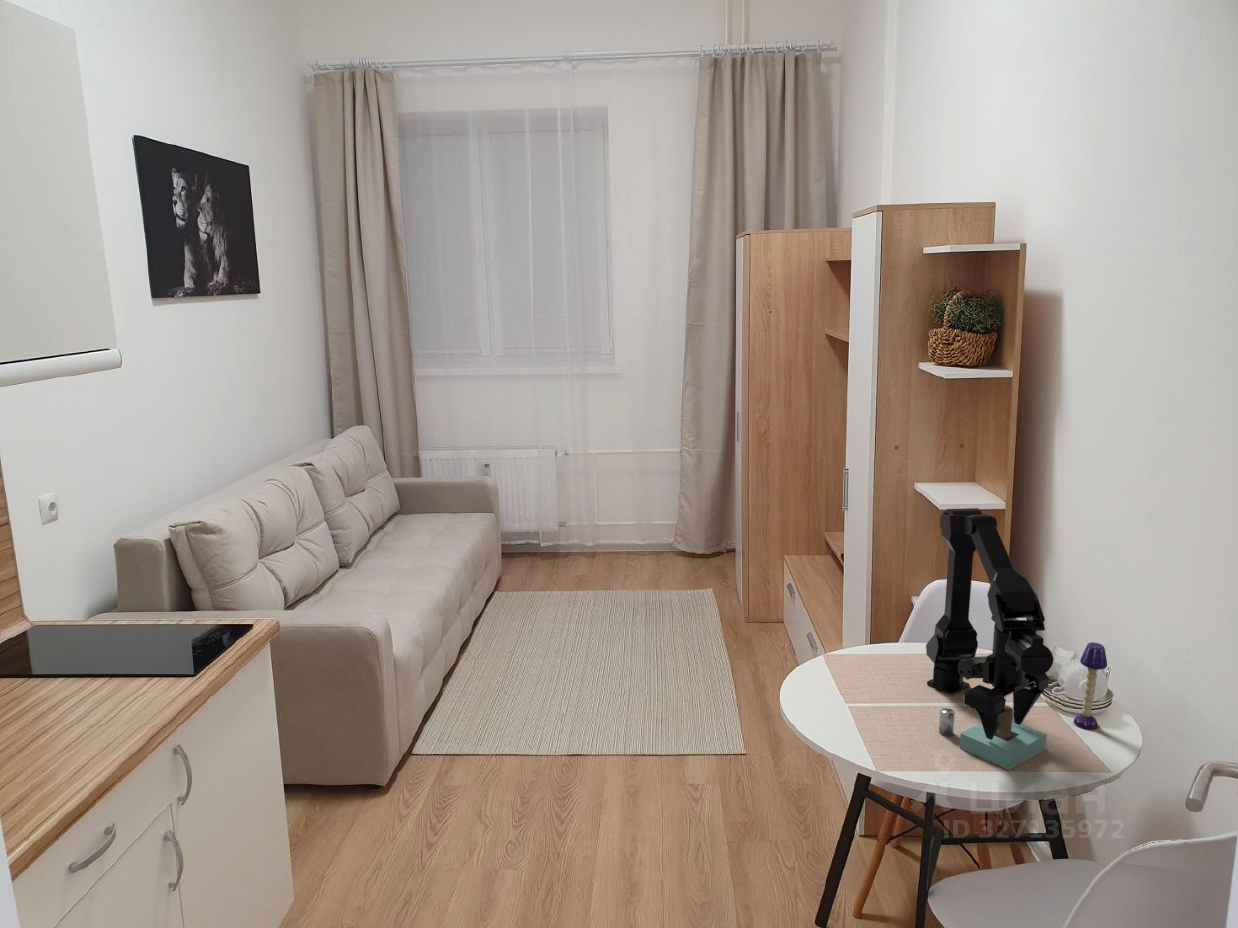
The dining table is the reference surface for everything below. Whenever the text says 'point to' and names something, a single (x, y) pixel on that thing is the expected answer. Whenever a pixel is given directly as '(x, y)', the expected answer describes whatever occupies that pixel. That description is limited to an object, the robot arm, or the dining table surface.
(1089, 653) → the toy lamp
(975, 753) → the collar block
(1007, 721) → the walnut dowel
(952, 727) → the grey stub
